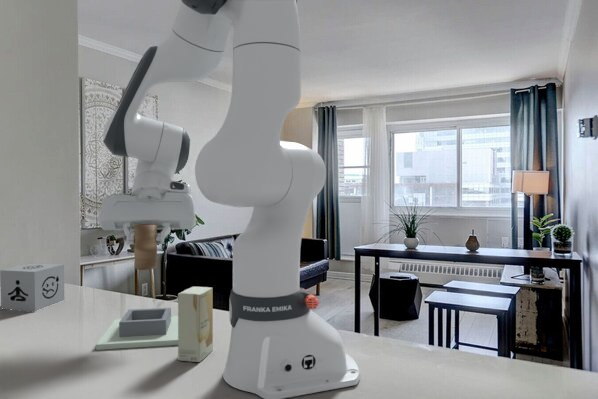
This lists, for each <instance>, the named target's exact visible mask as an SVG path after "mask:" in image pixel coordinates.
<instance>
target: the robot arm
mask: <svg viewBox="0 0 598 399" xmlns="http://www.w3.org/2000/svg"><path fill="white" fill-rule="evenodd" d="M298 10H299V9H298V0H180V4H179V6H178V9H177V11H176V13H175V14H176V15H175V16H174V19H173V22H172V26H171V29H170V32H169V34H168V36H167V37H166V38H165V39H164V40H163V41H162V42H160V44H159V45H152V46H150V47H149V48H147V50H146V51H145V52H144V54H143V56H142V57H141V59H140V60H139V62H138V64H137V66H136V68H135V69H134V72H133V74H132V76H131V78H130V79H129V81H128V84H127V86H126V88H125V89H124V91H123V94H122V96H121V98H120V100H119V102H118V104H117V106H116V107H115V110H114V111H113V113H112V114H111V115H110V117H109V118H108V119H107V121H106V123H105V126H104V129H103V134H102V138H103V143H104V146H106V148H107V149H108V150H109V152H111V154H112V155H113V156H118V157H125V158H133V159H137V162H136V166H135V167H136V168H135V174H136V175H135V177H134V179H133V183H132V189H131V193H111V194H110V195H108V196H105V197H103V198H102V201H101V208H100V210H99V213H98V217H97V220H98V225H99V227H100V228H101V229H102V230H103V231H123V233H124V234H125V236H126V238H125V239H126V240H125V241H126V242H125V243H126V245H134V232H132V231H134V225H138V224H156V225H157V230H161V231H160V232H157V235H156V236H157V237H156V243H157V245H163V244H165V239H166V237H168V236H169V235H170V234H171V230H192V229H193V228H195V227H196V225H197V217H196V206H195V202H194V198H193V196H192V192H191V191H192V190H191V187H190V184H187V183H185V182H180V181H176V180H173V179H174V176H175V175H177V174H178V173H179V172H181V171H183V169H184V168H185V167H186V165H187V164H188V160H189V156H190V145H191V139H190V137H189V134H188V132H187V131H186V128H184V127H182V126H179V125H175V124H172V123H169V122H167V121H161V120H157V119H154V118H150V117H147V116H143V115H141V114H139V113H138V112H139V111H140V108H141V106H142V105H143V103H144V101H145V99H146V97H147V94H148V93H149V91H150V90H151V89H152V88H153V87H154V86H157V85H159V84H165V83H166V84H167V83H192V82H198V81H201V80H205V79H207V78H208V77H210V76H212V75H213V74H214V73H215V72H216V71H217V69H218V68H219V67H220V64H221V62H222V60H223V59H224V58H223V57H224V56H225V52H226V49H227V47H228V45H229V41H230V37H231V34H232V31H233V38H232V39H233V40H232V42H233V43H232V81H231V82H232V83H231V94H230V95H231V97H230V102H229V107H228V110H227V113H226V116H225V118H224V121H223V123H222V125H221V127H220V128H219V130H218V131H217V133H216V134H215V135H214V137H212V138H211V139H210V140H209V141H207V142H206V143H205V144H204V145H203V147H201V149H200V151H199V153H198V155H197V158H196V161H195V167H194V174H195V176H194V177H195V181H196V184H197V187H198V189H199V190H200V193H201V194H202V196H204V198H205V199H207V200H208V201H210V202H212V203H215V204H219V205H222V206H229V207H232V208H252V207H253V209H252V213H251V217H250V219H249V221H248V224H247V226H246V227H245V229H243V231H242V232H241V233H240V234H239V235H238V236H237V237H236V239H235V240H234V243H233V245H232V289H231V290H230V294H229V301H228V302H229V303H228V304H229V312H228V313H229V322H230V326H231V331H230V332H231V333H230V341H229V348H228V353H227V358H226V361H225V366H224V370H223V372H222V377H223V380H224V381H225V382H226V384H228V385H229V386H231V387H233V388H235V389H238V390H240V391H244V392H249V393H252V394H256V395H257V396H259V397H261V398H262V399H287V398H294V397H299V396H303V395H309V394H314V393H319V392H325V391H329V390H336V389H342V388H347V387H351V386H356V385H357V384H358V383H359V381H360V379H361V378H360V377H361V376H360V375H361V374H360V367H359V366H358V364H357V362H356V361H355V360H354V358H353V357H351V355H349V354H348V353H347V352H346V349H345V345H344V342H343V339H342V337H341V335H340V333H339V332H338V330H337V329H336V328H334V326H332V325H331V324H329V322H327V321H326V320H325V319H324V318H322V317H321V316H319V315H318V314H317V313H315V311H313V310H316V309H317V308H318V307H319V304H320V302H319V299H318V298H317V297H316V296H315V295H314V294H311V293H310V292H309V291H308V290H306V289H305V288H304V287H300V275H301V274H300V272H301V271H300V270H301V268H300V267H301V266H300V265H301V246H302V237H303V234H304V229H305V226H306V222H307V218H308V215H309V213H310V209H311V207H312V204H313V202H314V200H315V198H316V197H317V196H318V195H319V193H320V192H321V191H322V190H323V188H324V186H325V183H326V181H327V180H326V179H327V168H326V164H325V162H324V159H323V157H322V156H321V155H320V154H319V153H318V152H317V151H315V150H314V149H311V148H310V147H308V146H306V145H303V144H302V143H298V142H293V141H288V140H287V141H286V140H281V134H282V129H283V126H284V123H285V120H286V118H287V116H288V115H289V113H292V112H293V111H294V110H295V109H296V108H297V107H298V106H299V104H300V101H301V96H302V95H301V94H302V92H301V90H302V88H301V87H302V84H301V83H302V82H301V81H302V76H301V75H302V38H301V37H302V35H301V26H300V16H299V11H298Z"/></svg>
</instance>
